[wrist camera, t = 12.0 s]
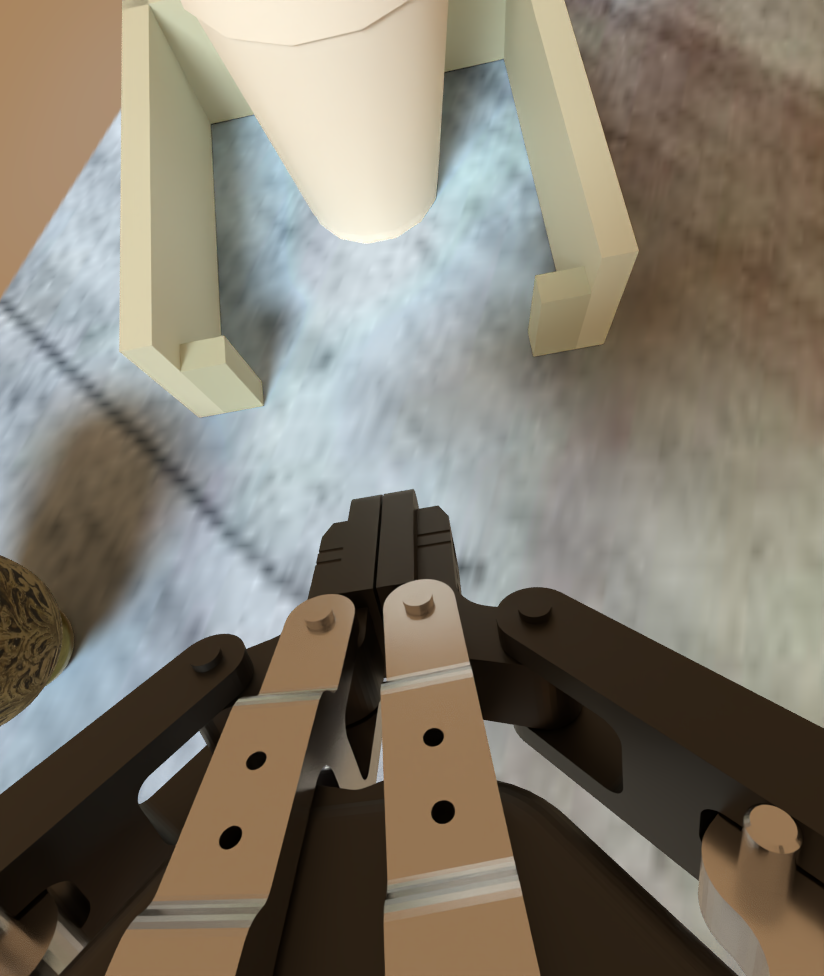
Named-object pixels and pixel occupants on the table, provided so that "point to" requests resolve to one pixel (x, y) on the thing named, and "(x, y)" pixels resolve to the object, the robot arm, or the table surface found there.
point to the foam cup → (343, 100)
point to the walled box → (215, 98)
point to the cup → (28, 638)
